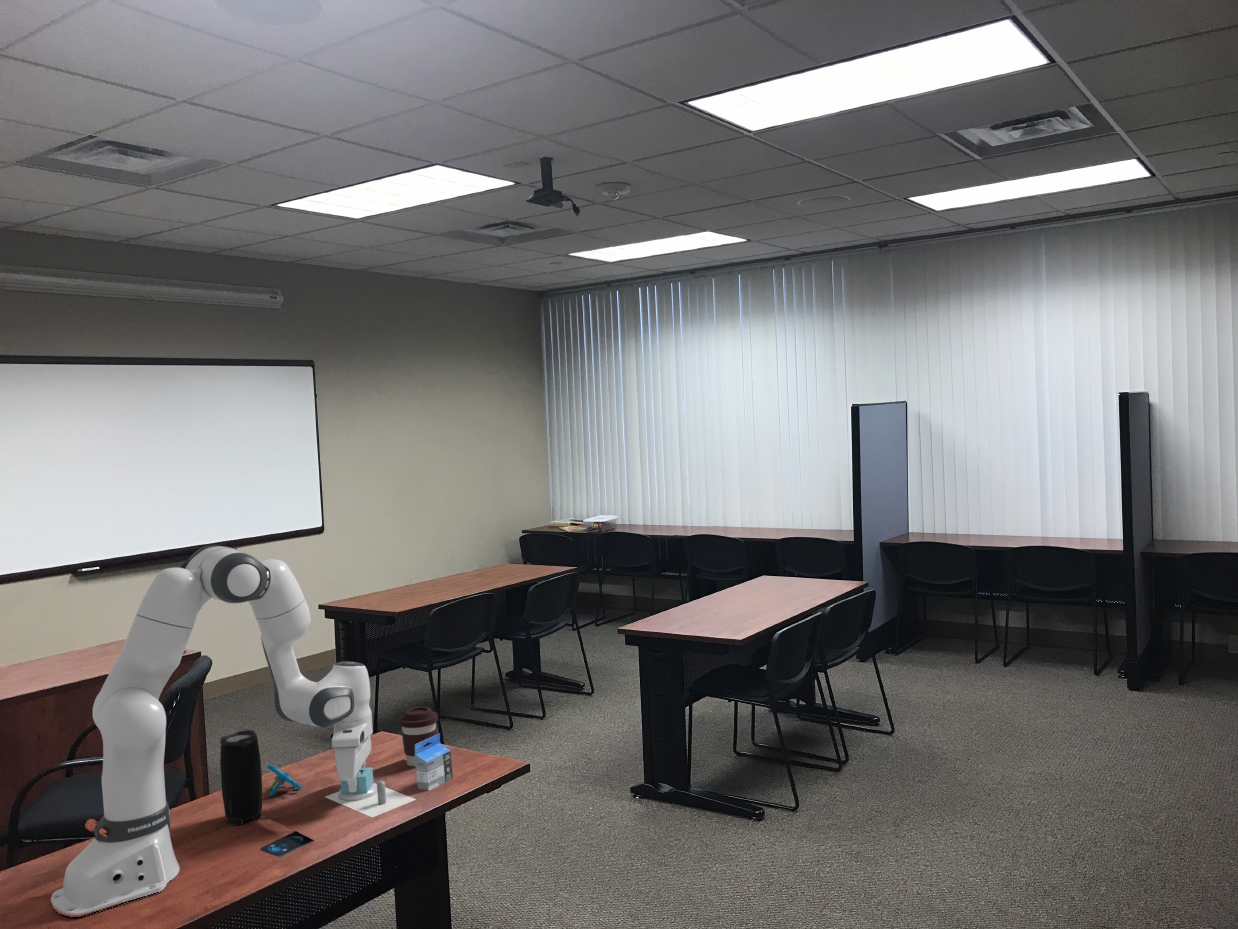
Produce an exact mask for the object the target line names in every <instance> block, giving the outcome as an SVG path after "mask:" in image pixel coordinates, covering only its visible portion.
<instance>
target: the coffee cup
mask: <svg viewBox="0 0 1238 929" xmlns="http://www.w3.org/2000/svg"><path fill="white" fill-rule="evenodd" d="M438 721H439V715H438V713H437V712H436V711H433V710H432V708H431V707H428V706H415V707H411V708H408V709H406V710H405V711H404V714H402V715H401V716H400V717H399V718H398V725H399V726H400V727H401V729H402V731H401V736H402V745H403V751H404V753H403V754H405V761H406V765H408V766H409V767H416V761H415V744H417V743H419V742H422V741H424V740H426V739H428V738H431V737H433V736H435V735H437V722H438ZM431 743H432V742H430V743H428V742H427V744H425V745H424V746H423V747H426V746H428V745H430V744H431Z"/></svg>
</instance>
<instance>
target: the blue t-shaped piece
mask: <svg viewBox="0 0 1238 929" xmlns="http://www.w3.org/2000/svg"><path fill="white" fill-rule="evenodd" d="M267 769H268V770H270V771H271V772H272V773H274V774H275V775H276V776H275V777H274V781H273V782H272V783H271V786H269V789H270V790H271V791H270V792H269V795H271V796H273V797H274V795H275V794H277V791H278V790H279V789H280V787H281V786H283V785H284V784H285V783H287V784H290V785H291V786H292V787H294V788H295V789H297V790H299V791H301V789H302V788H303V786H302V785H300V784H299V783H298V782H297V781H296V780H294V779H293V778H292V777H290V776H289V775H290V773H288V772H283V771H282V770H280V769H278V767H276V766H274V765H272V764H268V766H267Z"/></svg>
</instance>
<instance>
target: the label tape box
mask: <svg viewBox="0 0 1238 929" xmlns="http://www.w3.org/2000/svg"><path fill="white" fill-rule="evenodd" d="M440 739H441V733H438V734H437V733H436V735H435V736H433V737H431V738H428V739H426V740H424V741H422V742H419V743H417V744H415V761H416V766H415V772H416V783H417V789H419V790H422V791H423V790H424V791H428V792H429V791H432V790H433V789H435V788H437V787H439V786H441V785H443V784H445V783H447V782H449V781H450V780H452V779H454V774H453V761H452V751H451V749H449V748H447V747H446V746H445V745H443V744H442V743H441V742H440V741H441V740H440ZM427 742H428V743H430V742H432V743H431V744H430V745H428V746H426V747H423V746H424V745H425V744H427Z"/></svg>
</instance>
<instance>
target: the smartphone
mask: <svg viewBox="0 0 1238 929" xmlns="http://www.w3.org/2000/svg"><path fill="white" fill-rule="evenodd" d="M312 842H315V839H313V838H310V837H309V836H306V835H305V834H303V833H300V832H299V831H296V830H295V831H293V832H291V833H288V834H286V835H284V836H282V837H280V838H278V839H275V840H274V841H272V842H270V843H268V844H266V845H263V846H261V847H260V848H259V850H260V851H261V850H262V851H261V852H264V853H267V854H270V855H273V856H275V857H283V856H285V855H287V854H289V853H291V852H294V851H296V850H297V849H300V848H302V847H304V846H306V845H308V844H310V843H312Z"/></svg>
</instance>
